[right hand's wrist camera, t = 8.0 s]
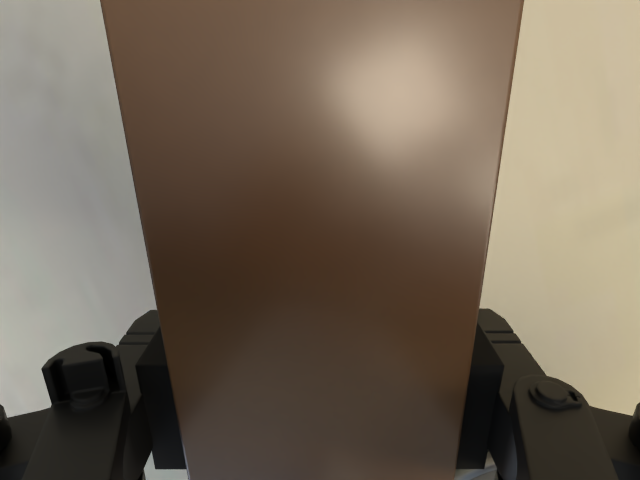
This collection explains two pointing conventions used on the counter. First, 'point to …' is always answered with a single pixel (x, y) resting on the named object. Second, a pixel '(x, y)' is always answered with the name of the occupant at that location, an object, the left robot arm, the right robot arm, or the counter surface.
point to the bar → (316, 221)
